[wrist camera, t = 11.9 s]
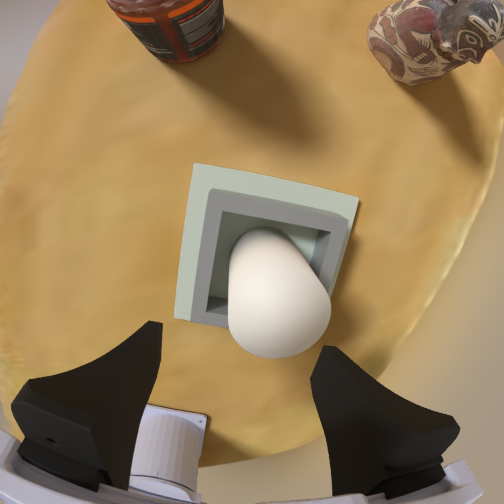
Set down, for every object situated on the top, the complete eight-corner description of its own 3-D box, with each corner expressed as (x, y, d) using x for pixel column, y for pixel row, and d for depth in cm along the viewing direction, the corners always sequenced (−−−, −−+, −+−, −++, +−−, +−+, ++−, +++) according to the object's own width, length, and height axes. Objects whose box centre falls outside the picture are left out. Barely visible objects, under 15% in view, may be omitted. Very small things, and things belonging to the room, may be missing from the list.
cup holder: (315, 333, 24) (324, 354, 21) (175, 313, 23) (167, 335, 20) (356, 196, 21) (374, 203, 18) (195, 162, 19) (188, 163, 16)
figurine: (366, 71, 18) (469, 21, 6) (363, 3, 15) (440, -66, 4) (436, 95, 18) (543, 81, 7) (431, 30, 16) (519, -7, 5)
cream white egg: (288, 295, 22) (314, 361, 15) (224, 286, 22) (221, 353, 14) (304, 233, 21) (344, 278, 13) (235, 220, 20) (237, 261, 12)
